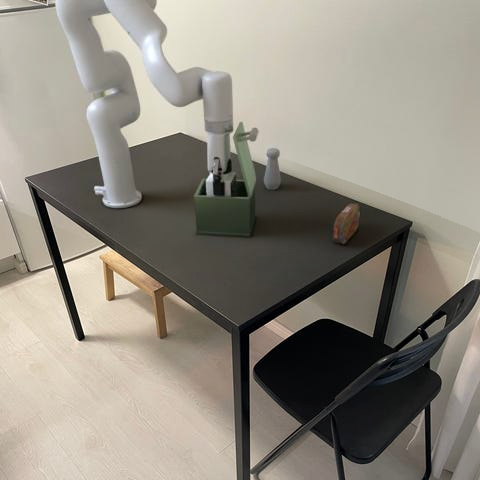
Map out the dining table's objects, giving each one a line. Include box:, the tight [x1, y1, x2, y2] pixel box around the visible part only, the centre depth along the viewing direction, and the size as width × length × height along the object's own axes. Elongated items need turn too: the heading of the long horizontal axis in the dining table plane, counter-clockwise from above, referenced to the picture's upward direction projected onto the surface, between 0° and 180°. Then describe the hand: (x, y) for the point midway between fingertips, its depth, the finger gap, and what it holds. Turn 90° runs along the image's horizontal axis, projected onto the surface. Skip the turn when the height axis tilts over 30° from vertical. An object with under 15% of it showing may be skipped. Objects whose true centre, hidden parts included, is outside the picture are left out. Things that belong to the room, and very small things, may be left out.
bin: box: [193, 177, 256, 238], centre depth 141 cm, size 16×12×12 cm
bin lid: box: [232, 121, 260, 197], centre depth 131 cm, size 16×12×5 cm
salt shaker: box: [263, 147, 282, 191], centre depth 161 cm, size 6×6×13 cm
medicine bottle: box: [206, 158, 237, 197], centre depth 136 cm, size 7×7×12 cm
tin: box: [332, 202, 362, 245], centre depth 136 cm, size 15×3×8 cm, turn 148°
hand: (221, 188), depth 137 cm, fingers closed on medicine bottle, 7 cm apart
